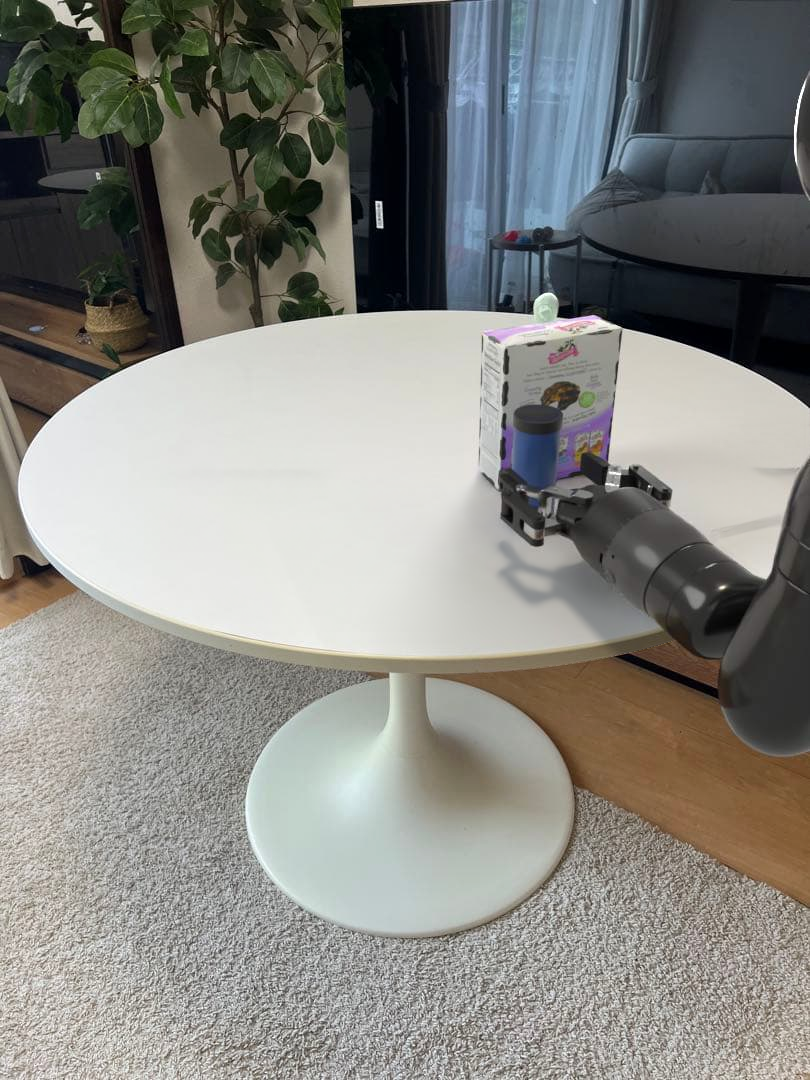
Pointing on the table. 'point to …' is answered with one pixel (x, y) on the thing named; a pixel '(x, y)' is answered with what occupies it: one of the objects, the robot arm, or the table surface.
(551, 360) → the candy box
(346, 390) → the table surface
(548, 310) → the robot head
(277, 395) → the table surface
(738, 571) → the robot arm
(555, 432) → the blue cylindrical container
